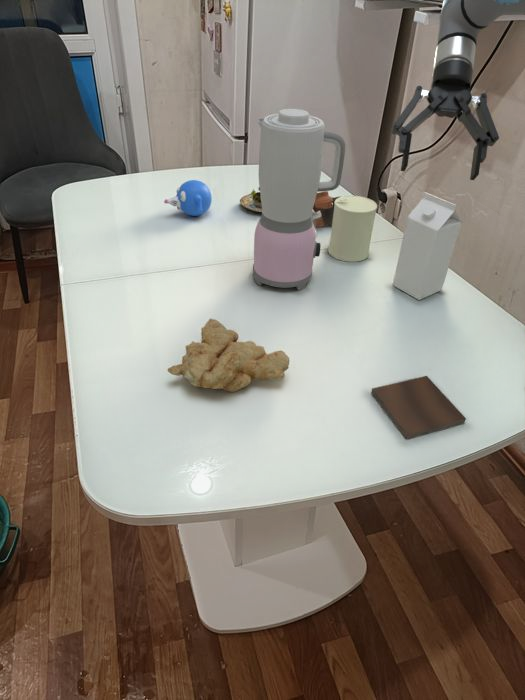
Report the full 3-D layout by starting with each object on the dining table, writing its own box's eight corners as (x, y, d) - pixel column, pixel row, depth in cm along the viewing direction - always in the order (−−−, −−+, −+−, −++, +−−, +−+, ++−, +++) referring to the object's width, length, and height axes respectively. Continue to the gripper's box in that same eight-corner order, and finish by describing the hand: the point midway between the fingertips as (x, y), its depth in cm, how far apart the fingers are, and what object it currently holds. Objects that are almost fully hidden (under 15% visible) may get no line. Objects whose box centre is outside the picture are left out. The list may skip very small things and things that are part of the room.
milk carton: (414, 276, 109) (436, 188, 97) (441, 290, 104) (468, 201, 92) (392, 285, 105) (412, 196, 93) (419, 301, 101) (443, 209, 89)
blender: (249, 290, 101) (253, 119, 82) (254, 261, 111) (259, 101, 91) (328, 296, 101) (352, 125, 81) (326, 266, 111) (347, 106, 91)
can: (329, 241, 120) (335, 191, 113) (368, 245, 119) (377, 195, 112) (326, 259, 113) (333, 207, 106) (368, 264, 112) (378, 212, 105)
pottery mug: (305, 231, 125) (297, 197, 123) (302, 232, 134) (295, 200, 133) (353, 219, 124) (346, 184, 123) (347, 220, 133) (340, 188, 132)
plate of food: (233, 201, 137) (233, 174, 132) (273, 196, 140) (275, 169, 136) (250, 219, 128) (250, 190, 123) (292, 213, 132) (294, 185, 127)
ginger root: (151, 361, 81) (158, 317, 77) (231, 346, 91) (241, 307, 87) (203, 422, 72) (215, 377, 68) (286, 398, 82) (300, 357, 78)
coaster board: (425, 380, 82) (426, 375, 81) (464, 423, 75) (466, 418, 74) (370, 393, 79) (371, 388, 79) (406, 439, 72) (407, 434, 71)
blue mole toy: (159, 209, 131) (156, 176, 126) (203, 203, 135) (202, 171, 130) (171, 228, 123) (169, 194, 117) (218, 221, 126) (218, 188, 121)
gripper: (508, 88, 104) (496, 188, 103) (386, 74, 106) (372, 172, 104) (525, 65, 97) (512, 172, 95) (393, 50, 98) (378, 155, 97)
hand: (439, 172), depth 100 cm, fingers open, 13 cm apart
